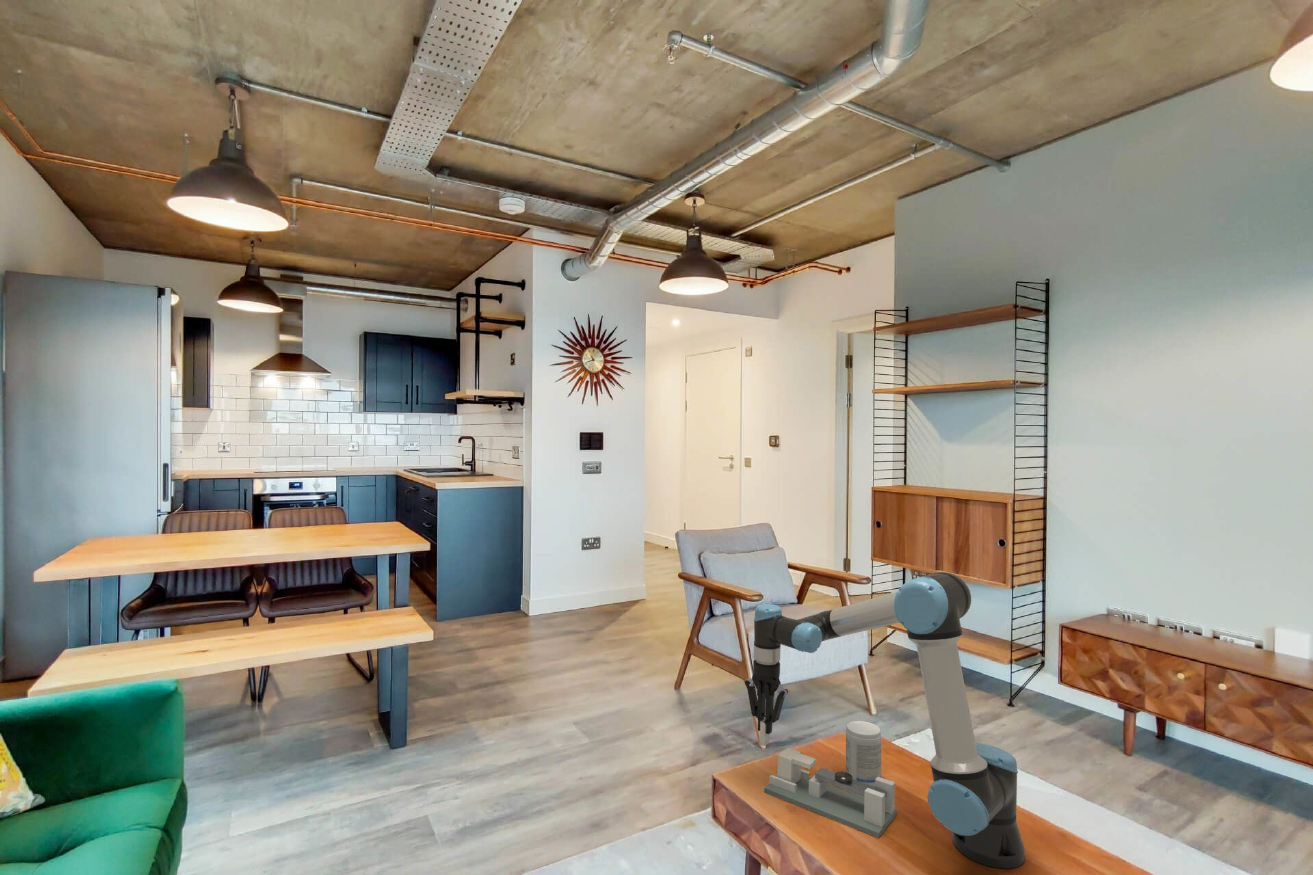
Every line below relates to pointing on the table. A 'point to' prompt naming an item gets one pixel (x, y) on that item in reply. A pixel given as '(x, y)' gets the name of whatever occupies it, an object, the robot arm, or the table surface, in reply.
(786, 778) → the block
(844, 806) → the mount
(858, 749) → the supplement tub
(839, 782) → the grey long flat bar
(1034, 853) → the table surface
